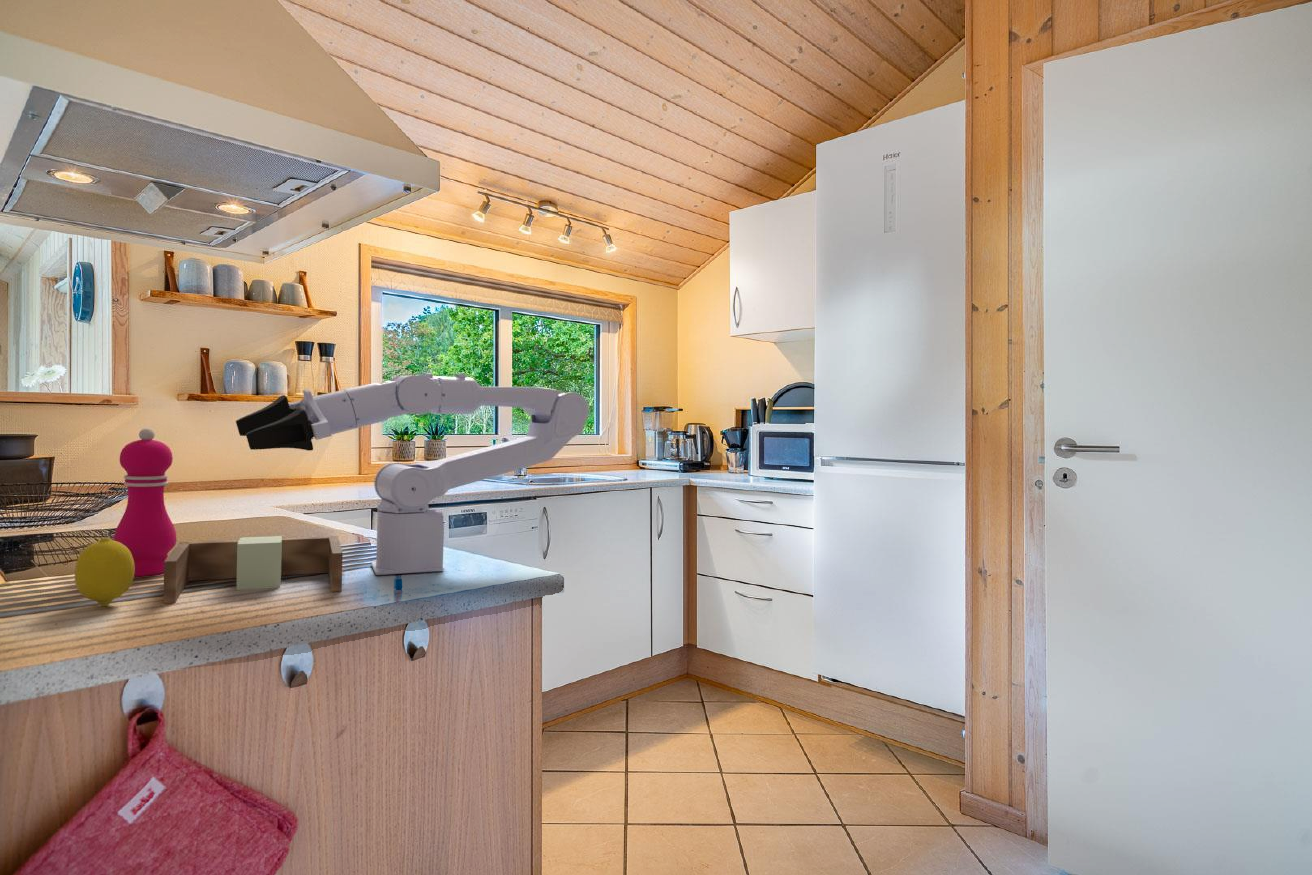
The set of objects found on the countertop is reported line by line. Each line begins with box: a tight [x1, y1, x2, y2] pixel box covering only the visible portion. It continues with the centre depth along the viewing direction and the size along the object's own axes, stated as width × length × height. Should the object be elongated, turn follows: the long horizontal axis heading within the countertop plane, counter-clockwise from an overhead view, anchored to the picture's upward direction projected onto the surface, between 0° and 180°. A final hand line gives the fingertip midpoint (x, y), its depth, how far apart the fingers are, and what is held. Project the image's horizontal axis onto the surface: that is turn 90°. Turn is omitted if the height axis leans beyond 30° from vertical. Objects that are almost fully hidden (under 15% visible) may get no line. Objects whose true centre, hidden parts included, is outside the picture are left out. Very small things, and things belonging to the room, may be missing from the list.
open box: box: [163, 535, 344, 604], centre depth 95 cm, size 19×13×5 cm, turn 117°
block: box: [236, 535, 283, 591], centre depth 95 cm, size 5×5×6 cm
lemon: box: [74, 536, 135, 607], centre depth 83 cm, size 6×6×8 cm
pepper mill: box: [112, 427, 178, 577], centre depth 99 cm, size 7×7×20 cm
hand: (242, 434), depth 94 cm, fingers open, 7 cm apart
